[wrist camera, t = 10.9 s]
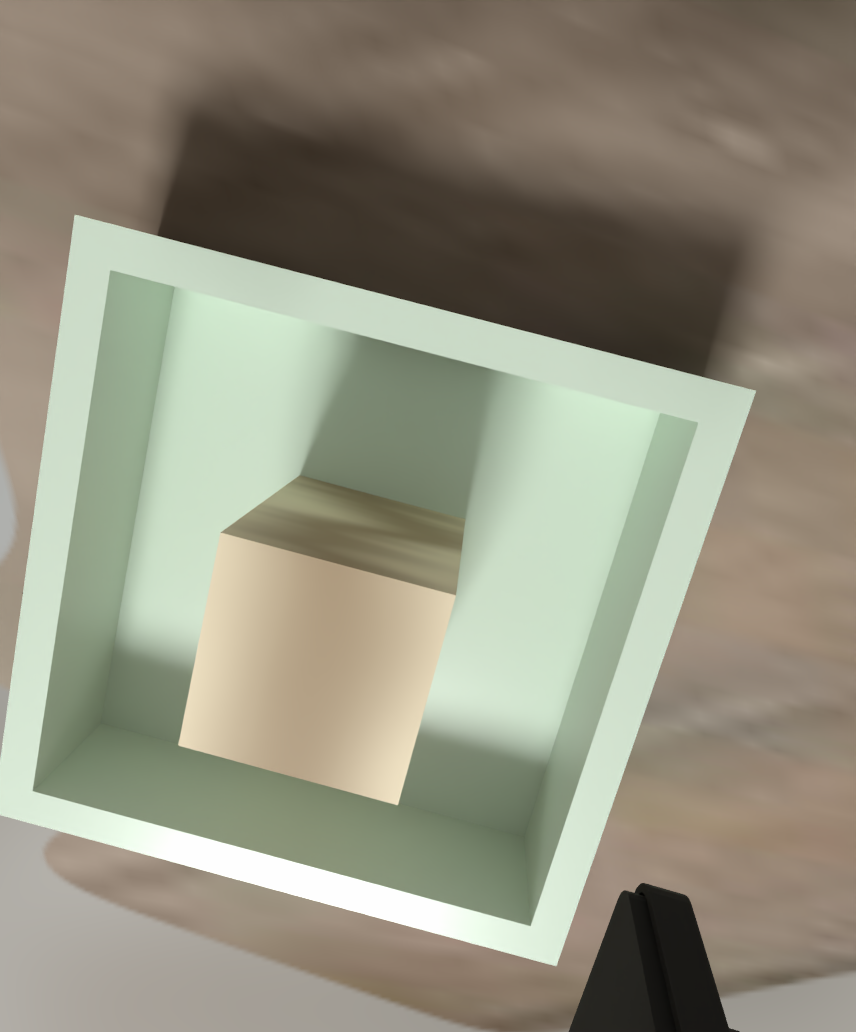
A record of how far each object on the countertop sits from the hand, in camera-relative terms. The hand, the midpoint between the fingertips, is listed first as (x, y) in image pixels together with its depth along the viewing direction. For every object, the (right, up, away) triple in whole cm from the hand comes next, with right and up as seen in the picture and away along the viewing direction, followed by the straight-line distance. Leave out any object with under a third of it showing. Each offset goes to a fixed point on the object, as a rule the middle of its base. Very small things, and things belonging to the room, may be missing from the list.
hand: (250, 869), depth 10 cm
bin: (0, +3, +14) cm, 14 cm away
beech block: (0, +3, +13) cm, 14 cm away
